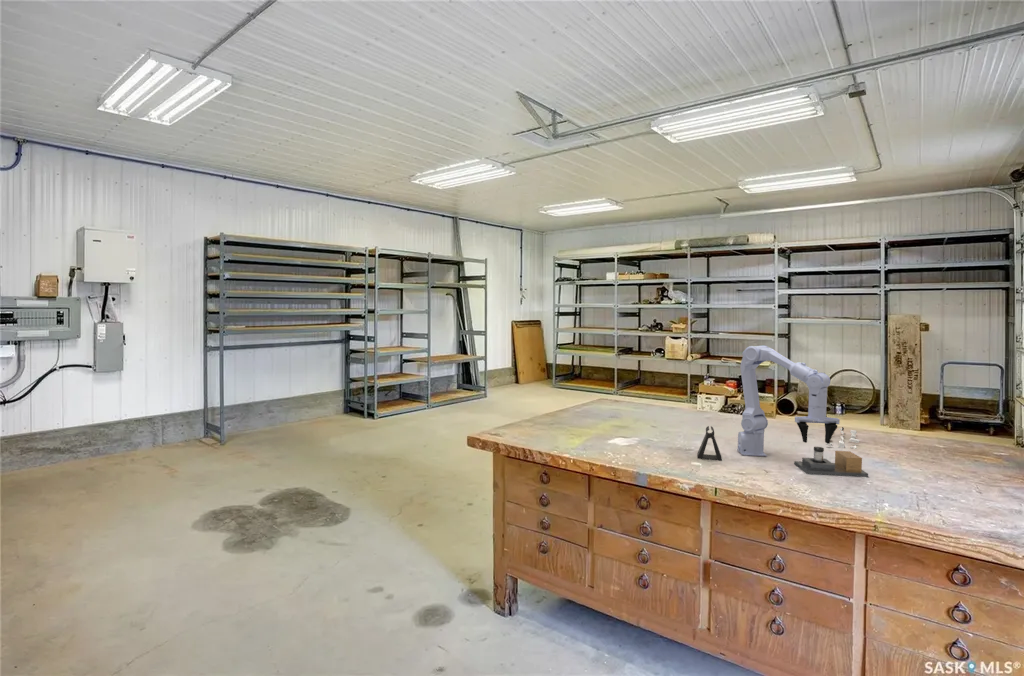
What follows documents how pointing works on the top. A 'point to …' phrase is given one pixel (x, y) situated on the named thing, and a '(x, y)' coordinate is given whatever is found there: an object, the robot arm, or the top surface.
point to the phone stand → (703, 446)
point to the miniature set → (852, 439)
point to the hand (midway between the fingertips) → (816, 442)
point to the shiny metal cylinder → (818, 454)
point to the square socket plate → (834, 465)
